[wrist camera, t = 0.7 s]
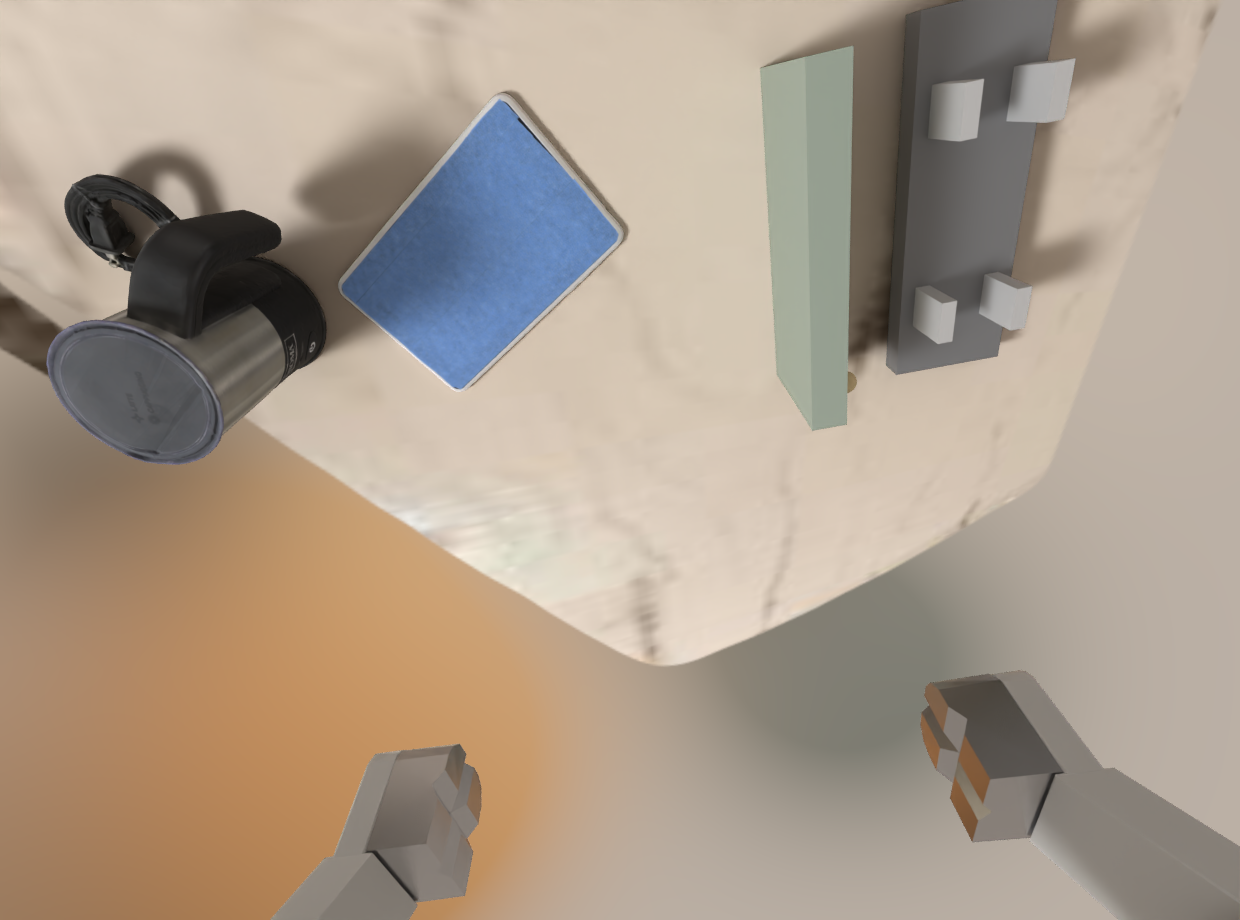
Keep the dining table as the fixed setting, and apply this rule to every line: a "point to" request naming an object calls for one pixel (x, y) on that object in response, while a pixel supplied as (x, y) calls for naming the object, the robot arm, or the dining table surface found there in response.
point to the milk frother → (180, 327)
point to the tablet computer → (481, 247)
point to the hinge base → (967, 174)
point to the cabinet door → (810, 227)
